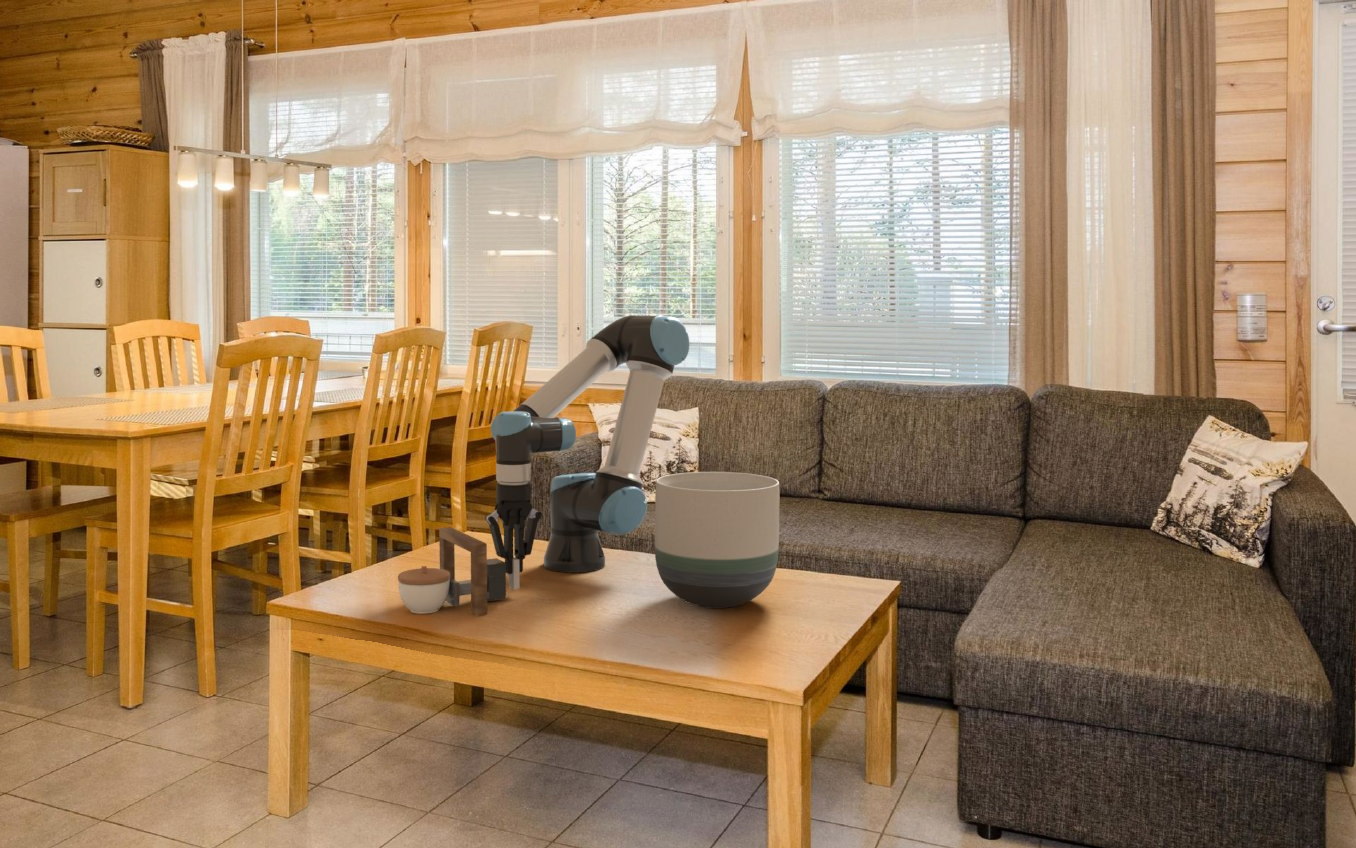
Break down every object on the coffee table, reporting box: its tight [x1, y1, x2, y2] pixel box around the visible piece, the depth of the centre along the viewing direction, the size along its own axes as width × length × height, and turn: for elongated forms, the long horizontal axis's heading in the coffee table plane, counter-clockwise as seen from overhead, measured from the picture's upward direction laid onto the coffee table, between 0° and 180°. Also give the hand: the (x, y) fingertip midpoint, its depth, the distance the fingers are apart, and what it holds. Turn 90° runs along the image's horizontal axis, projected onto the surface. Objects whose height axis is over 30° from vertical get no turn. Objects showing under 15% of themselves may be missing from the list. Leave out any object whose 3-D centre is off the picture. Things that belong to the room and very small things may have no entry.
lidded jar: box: [397, 565, 450, 615], centre depth 228 cm, size 11×11×9 cm
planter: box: [654, 471, 781, 609], centre depth 235 cm, size 27×27×27 cm
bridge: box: [438, 526, 488, 617], centre depth 233 cm, size 2×20×15 cm, turn 33°
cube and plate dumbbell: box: [445, 557, 507, 607], centre depth 235 cm, size 12×9×8 cm
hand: (514, 587), depth 240 cm, fingers closed
